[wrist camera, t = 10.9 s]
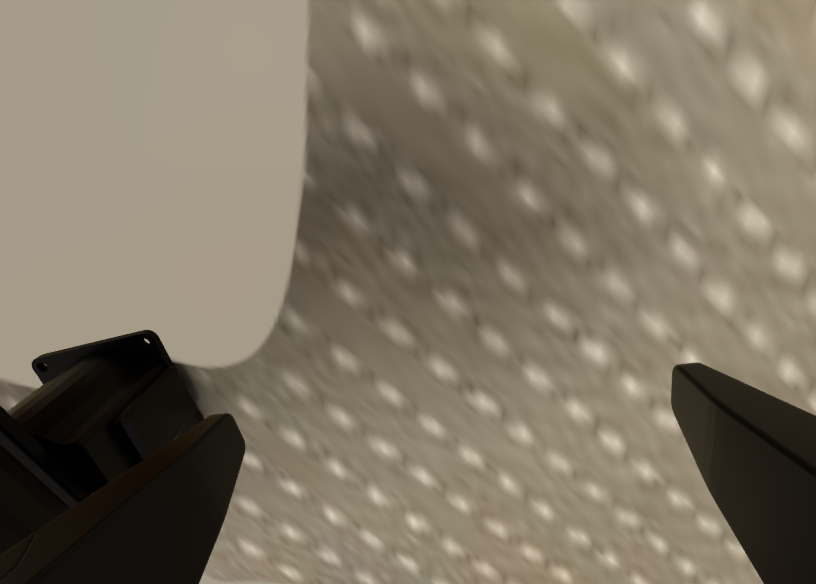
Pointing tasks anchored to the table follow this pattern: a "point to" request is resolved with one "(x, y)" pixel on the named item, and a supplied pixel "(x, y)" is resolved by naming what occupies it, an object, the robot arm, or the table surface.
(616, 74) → the table surface
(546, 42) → the table surface
